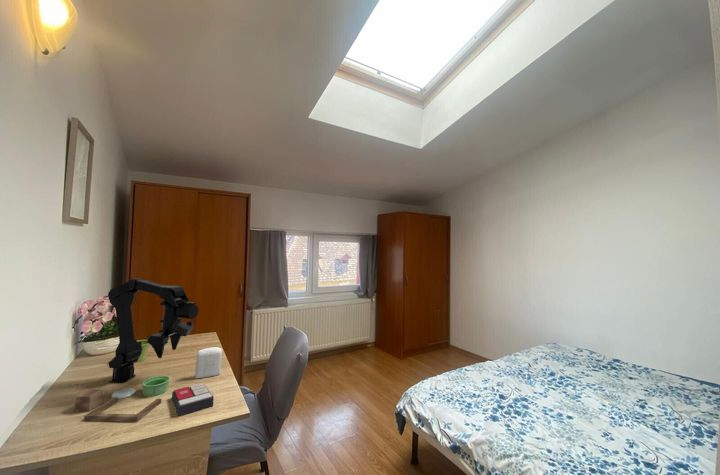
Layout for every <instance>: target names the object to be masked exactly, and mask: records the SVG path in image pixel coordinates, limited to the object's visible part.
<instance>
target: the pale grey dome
mask: <svg viewBox="0 0 720 475" xmlns="http://www.w3.org/2000/svg"><path fill="white" fill-rule="evenodd" d="M134 394H136V389H135V388H133V387H131V388H129V387H128V388H123V389H118V390H117V391H115V392H113V393H112V394H111V397H110V399H112V398H114V397H118V400H121V399H122V400H123V399H126V398H129V397H132V396H133V395H134Z"/></svg>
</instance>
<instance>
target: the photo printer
mask: <svg viewBox="0 0 720 475" xmlns="http://www.w3.org/2000/svg"><path fill="white" fill-rule="evenodd" d="M222 357H223V350H222V348H221V347H217V346H216V347H215V346H214V347H213V346H212V347H205V348H202V349H200V350H198V351H197V355H196V361H195V372H194V378H195V379H202V378H203V379H204V378H208V377H214V376H218V375H220V374H221V370H222V361H223V360H222V359H223V358H222Z"/></svg>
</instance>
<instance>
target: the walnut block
mask: <svg viewBox="0 0 720 475" xmlns="http://www.w3.org/2000/svg"><path fill="white" fill-rule="evenodd" d="M104 391H105V390H104V389H95V388H94V389H91V388H89V389H87V390H85V391H84V392H82V393H79V394H77V395H76V396H75V402H74V403H75V404H74V412H87V413H90V412H91V411H93V410H95V409H96V408H98V407H99V406H101V405H103V404H104V402H103V400H104Z"/></svg>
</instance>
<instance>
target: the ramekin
mask: <svg viewBox="0 0 720 475" xmlns="http://www.w3.org/2000/svg"><path fill="white" fill-rule="evenodd" d="M170 380H171V377H170V376H169V375H156V376H151V377H149V378H147V379H145V380H143V381H142V384H141V385H142V394H143V396H145V397H155V396H159V395H162V394H165V393H166V392H167V391H168V388H169V383H170Z"/></svg>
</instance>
